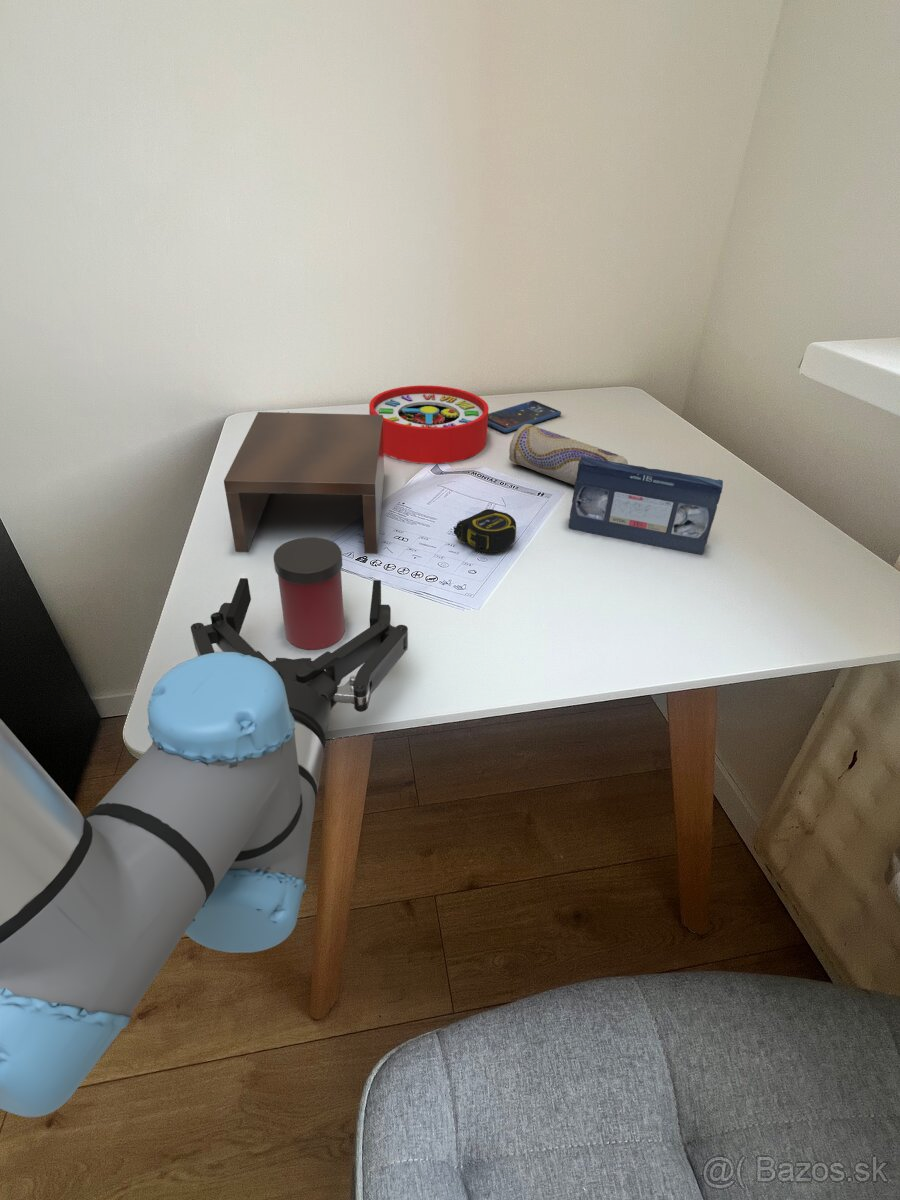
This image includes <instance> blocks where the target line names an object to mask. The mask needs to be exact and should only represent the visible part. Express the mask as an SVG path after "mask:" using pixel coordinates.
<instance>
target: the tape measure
mask: <svg viewBox="0 0 900 1200" xmlns="http://www.w3.org/2000/svg"><path fill="white" fill-rule="evenodd" d="M453 534H454V535H455V536H456V538H457V540H458V541H459V542H462V543H464V544H466V543H467V544H468V545H469V546H470V547H472V548H473V549H475V550H477V551H481V552H484V553H497V552H502V551H505V550H507V549H509V548H510V547H511V546H512V545H513V544H514V543H515V542H516V537H517V536H516V535H517V522H516V520H515V518H514V517H513V516H512V515H510V514H509V513H507V512H504V511H499V510H496V509H491V508H486V509H484V510H482V511H480V512H478V513H476V514H474V515H472V516H470V517H467V518H464V519H462V520H459V522H457V523H456V525H455V526H453Z"/></svg>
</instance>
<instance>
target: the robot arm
mask: <svg viewBox="0 0 900 1200" xmlns="http://www.w3.org/2000/svg"><path fill="white" fill-rule="evenodd" d="M251 601H252V596H251V590H250V583H249V578H247V577H240V578H239V580H238V583H237V586H236V587H235V591H234V593H233V596H232V599H231V601H230V602H223V603H222V604H221V605H220V607H219V609H218V611H217V612H214V613H211V615H210V622H211V623H210V624H206V625H204V623H203V622H195V623H193V624H191V625H190V632H191V636H192V641H193V645H194V649H195V652H196V654H197V656H195V657H192V658H190V659H187V660H184V661H183V662H181V663H179V664H177V665H176V666H174V667H172V668H171V669H170V670H168V671H167V672H166V673H165V674H163V676H162V677H160V679H159V680H158V681H157V682H156V684H155V685H154V687H153V689H152V692H151V694H150V699H149V701H148V707H147V718H148V725H147V730H148V733H149V737H150V739H152V743H151V745H150V746H149V747H148V748H147V750H146V751H144V753H143V754H142V755H141V756H140V757H139V759H137V761H136V762H135V763H134V764H132V766H131V767H130V768H129V769H128V770H127V771H126V772H125V773H124V775H122V777H121V778H120V779H119V780H118V781H117V782H116V783H115V784H114V785H113V787H112V788H110V790H109V791H108V792H107V793H106V794H105V795H104V796H103V797H102V799H101V800H100V801H99V802H98V803H97V804H96V806H94V807H93V808H92V809H91V810H90V811H89V812H88V813H87V814H86V815H85V816H84V814H83V813H81V811H80V810H79V808H78V806H76V805H75V803H74V802H73V801H72V800H71V799H70V798H69V797H68V795H67V794H66V793H65V791H64V790H62V788H61V787H60V786H59V785H58V784H57V782H55V780H54V779H53V778H52V777H51V775H50V774H48V772H47V771H46V770H45V769H44V767H43V766H42V765H41V764H40V763H39V762H38V761H37V759H36V758H35V757H34V756H33V755H32V754H31V753H30V751H29V750H28V749H27V747H25V745H24V744H23V743H22V742H21V741H20V740H19V738H18V737H17V736H16V735H15V734H14V733H13V732H12V730H11V729H10V728H9V726H8V725H6V723H5V722H4V721H3V720H2V719H1V718H0V1110H3V1111H5V1112H6V1113H11V1114H14V1115H17V1116H20V1117H23V1118H39V1117H44V1116H47V1115H49V1114H52V1113H54V1112H55V1111H57V1110H58V1109H60V1108H61V1107H62V1106H64V1105H65V1104H66V1103H67V1102H68V1101H69V1100H70V1099H71V1098H72V1096H73V1095H74V1094H75V1093H76V1091H77V1090H78V1089H79V1087H80V1086H81V1084H83V1082H84V1080H86V1078H87V1077H88V1075H90V1072H92V1070H93V1069H94V1067H95V1066H96V1065H97V1063H98V1062H99V1060H100V1059H101V1058H102V1057H103V1055H104V1054H105V1053H106V1052H107V1050H108V1049H109V1047H110V1046H111V1045H112V1043H113V1042H114V1041H115V1039H116V1038H117V1037H118V1036H119V1034H120V1033H121V1031H122V1030H124V1029H125V1028H127V1026H128V1025H129V1024H130V1021H131V1019H132V1014H133V1012H134V1011H135V1010H136V1007H137V1006H138V1005H139V1004H140V1002H141V1000H142V999H143V997H144V996H145V994H146V992H148V990H149V988H150V987H151V985H152V983H153V982H154V980H155V979H156V977H157V976H158V974H159V973H160V971H161V970H162V969H163V967H164V965H165V964H166V963H167V960H168V959H169V958H170V956H171V955H172V953H173V951H174V950H175V948H176V947H177V945H179V942H180V941H181V939H182V938H183V936H184V935H186V936H187V937H188V938H189V939H191V940H192V941H194V942H195V943H197V944H198V945H201V946H202V947H205V948H207V949H211V950H215V951H219V952H224V953H230V954H231V953H233V954H238V953H239V954H241V953H244V954H245V953H246V954H247V953H250V954H251V953H257V952H262V951H265V950H269V949H271V948H275V947H276V946H277V945H280V944H281V943H282V942H284V941H286V940H287V938H289V936H290V935H291V934H292V932H293V931H294V929H295V928H296V925H297V921H298V916H299V911H300V907H301V902H302V898H303V895H304V893H305V892H306V889H307V883H306V882H305V881H306V874H307V866H308V859H309V852H310V844H311V837H312V831H313V824H314V817H315V809H316V804H317V798H318V797H317V796H318V793H319V787H320V779H321V773H322V768H323V763H324V756H325V753H324V751H325V747H326V743H327V742H326V741H327V736H328V728H329V722H330V716H331V711H332V710H333V708H334V707H335V706H336V704H338V703H340V704H341V703H343V704H350V705H351V704H353V709H354V710H355V711H357V712H361V713H362V712H363V713H364V712H366V711H367V710H368V708H369V705H370V700H371V697H372V694H373V693H374V692H375V690H376V689H377V688H378V687H379V685H380V684H381V683H382V681H384V679H385V678H386V677H387V675H388V674H389V673H390V672H391V671H392V670H393V668H394V667H395V666H396V665H397V663H398V662H399V661H400V660H401V658H402V657H403V656H404V655H405V654H406V652H407V651H408V649H409V628H408V626H407V625H405V624H398V625H396V626H394V625H392V624H391V621H392V613H391V612H392V610H391V606H390V604H382V580H381V579H373V581H372V591H371V601H370V610H369V627H368V628H366V629H365V630H363V631H362V632H361V633H359V634H357V635H356V636H354V637H353V638H352V639H350V640H349V641H347V642H346V643H344V644H342V645H341V646H339V647H338V648H337V649H335V650H334V651H332V652H330V651H326V652H324V653H322V654H321V655H319V656H318V657H316V658H314V659H313V660H312V658H311V657H301V658H295V659H293V658H288V657H276V658H275V660H272V661H270V660H269V659H268V658H267V657H266V656H265V655H264V654H263V653H262V652H261V651H260V650H255V649H254V648H253V647H252V646H251V645H250V644H249V642H247V641H246V640H245V639H244V638H243V637H242V636H241V635H240V633H241V630H242V628H243V624H244V621H245V619H246V615H247V614H248V611H249V607H250V604H251ZM213 644H216V646H217V647H218V648H219V649H220V650H221V652H220V651H219V652H217V651H216V652H215V649H214V647H213ZM358 668H359V669H358ZM357 669H358V671H357V673H356V675H351V676H350V677H349V680H347V682H346V683H345V685H342V686H340V684H341V683H342V680H343V679H344V678H346V677H347V676H348V675H349V674H351V673H353V672H354V671H356V670H357Z"/></svg>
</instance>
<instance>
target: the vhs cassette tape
mask: <svg viewBox="0 0 900 1200" xmlns="http://www.w3.org/2000/svg"><path fill="white" fill-rule="evenodd" d="M638 474H639V475H638ZM723 485H724V481H723V479H715V478H710V477H707V476H700V475H694V474H688V473H682V472H676V471H670V470H665V469H658V468H648V467H645V466H639V465H634V464H629V463H628V464H623V463H616V462H610V461H603V460H596V459H591V458H584V457H581V460H580V461H579V464H578V471H577V479H576V482H575V485H574V487H573V493H572V499H571V507H570V513H569V520H568V528H569V529H570V530H575V531H580V532H584V533H589V534H595V535H599V536H605V537H609V538H614V539H620V540H625V541H628V542H629V541H630V542H635V543H639V544H644V545H649V546H654V547H658V548H665V549H671V550H675V551H680V552H684V553H691V554H697V555H703V554H704V553H705V551H706V548H707V544H708V540H709V537H710V533H711V529H712V525H713V523H714V520H715V516H716V514H717V510H718V505H719V502H720V499H721V495H722V493H723V487H724V486H723Z"/></svg>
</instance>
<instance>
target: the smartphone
mask: <svg viewBox="0 0 900 1200" xmlns="http://www.w3.org/2000/svg"><path fill="white" fill-rule="evenodd" d="M561 415H562V412H561V410H559V409H555V408H553V407H552V406H551V407H550V406H548V405H546V404H543V403H541V402H539V401H536V400H529V401H527V402H523V403H520V404H516V405H513V406H509V407H506V408H503V409H499V410H496V411H493V412H488V424H487V426H488V427H491V428H493V429H495V430H497V431H500V432H502V433H510V432H513V431H517V430H518V429H519V428H520V427H521V426H523V425H524V424H531V425H535V424H538V423H540V422H544V421H547V420H549V419H553V418H556V417H559V416H561Z"/></svg>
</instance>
